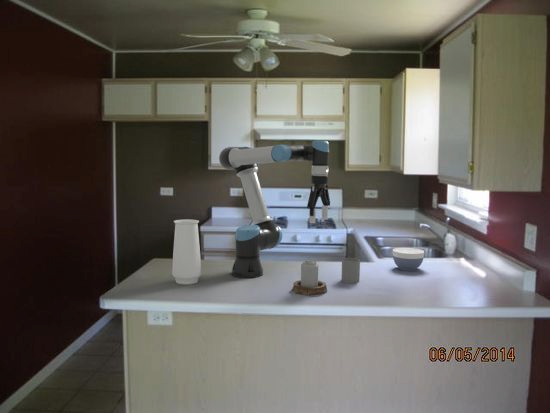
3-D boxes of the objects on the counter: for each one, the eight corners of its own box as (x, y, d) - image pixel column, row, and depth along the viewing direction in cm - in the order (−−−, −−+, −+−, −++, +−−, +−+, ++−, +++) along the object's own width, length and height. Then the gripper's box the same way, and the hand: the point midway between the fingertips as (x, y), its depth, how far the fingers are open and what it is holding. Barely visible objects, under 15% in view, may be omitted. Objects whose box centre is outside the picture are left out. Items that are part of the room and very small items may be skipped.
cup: (358, 283, 241) (359, 262, 240) (340, 282, 243) (341, 261, 242) (359, 279, 250) (360, 258, 249) (342, 278, 251) (342, 257, 250)
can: (299, 286, 232) (299, 259, 230) (316, 286, 232) (316, 259, 231) (302, 291, 224) (302, 263, 223) (319, 290, 225) (320, 263, 224)
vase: (205, 283, 239) (205, 222, 235) (178, 286, 232) (177, 224, 229) (194, 276, 250) (194, 218, 246) (168, 280, 243) (167, 220, 240)
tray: (286, 292, 225) (286, 285, 225) (301, 284, 239) (301, 277, 238) (319, 297, 219) (319, 290, 218) (332, 288, 232) (332, 282, 232)
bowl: (427, 267, 274) (428, 249, 273) (418, 273, 261) (418, 255, 260) (397, 263, 283) (398, 246, 282) (387, 269, 270) (388, 251, 269)
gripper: (315, 176, 227) (314, 225, 230) (337, 174, 249) (336, 218, 251) (300, 175, 231) (299, 223, 233) (323, 173, 252) (322, 217, 255)
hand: (318, 221), depth 242 cm, fingers open, 13 cm apart
